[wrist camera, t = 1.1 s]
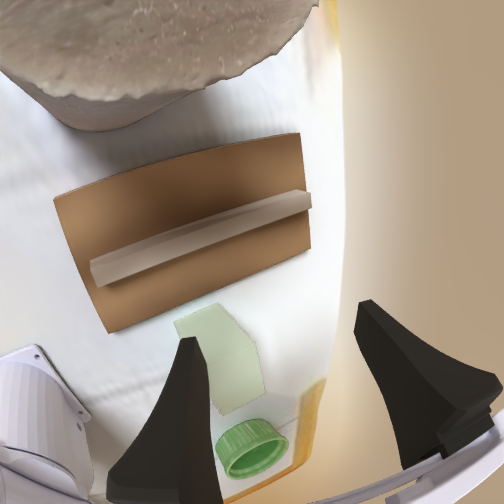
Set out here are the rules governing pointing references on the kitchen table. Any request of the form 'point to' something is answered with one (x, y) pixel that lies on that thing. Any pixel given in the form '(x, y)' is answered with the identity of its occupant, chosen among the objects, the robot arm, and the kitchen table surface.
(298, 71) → the kitchen table surface
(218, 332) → the notched block
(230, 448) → the ramekin
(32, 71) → the pillar candle
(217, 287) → the cleat plank
